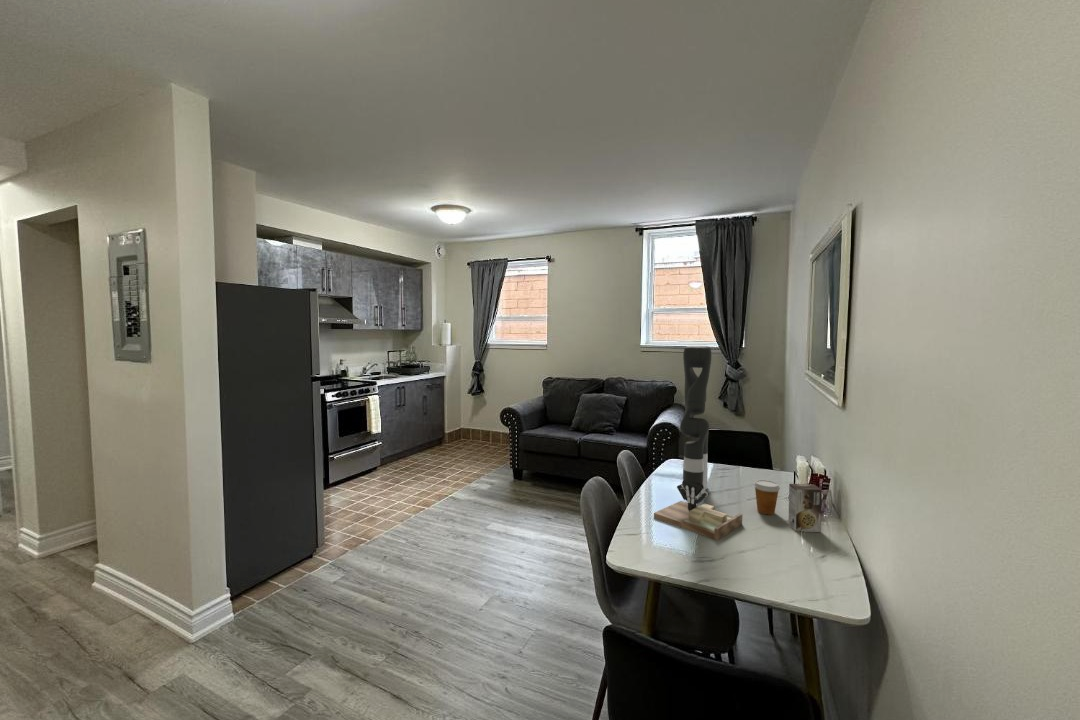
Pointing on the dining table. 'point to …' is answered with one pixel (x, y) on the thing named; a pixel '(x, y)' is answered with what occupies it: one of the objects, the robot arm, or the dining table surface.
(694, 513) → the t block
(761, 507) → the disposable coffee cup
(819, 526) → the cracker box
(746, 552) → the dining table surface
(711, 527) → the board
